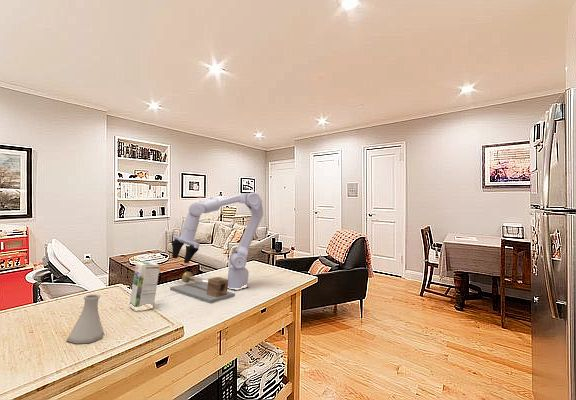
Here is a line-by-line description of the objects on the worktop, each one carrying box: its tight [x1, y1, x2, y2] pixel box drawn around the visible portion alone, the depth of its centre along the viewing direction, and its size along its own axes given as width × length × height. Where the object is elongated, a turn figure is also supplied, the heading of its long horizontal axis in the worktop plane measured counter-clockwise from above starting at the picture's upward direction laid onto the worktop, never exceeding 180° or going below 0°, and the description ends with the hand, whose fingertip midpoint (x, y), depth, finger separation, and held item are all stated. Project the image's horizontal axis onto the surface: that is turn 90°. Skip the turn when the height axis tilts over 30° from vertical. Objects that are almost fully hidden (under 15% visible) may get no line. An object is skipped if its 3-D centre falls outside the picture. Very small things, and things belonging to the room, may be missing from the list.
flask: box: [66, 293, 105, 344], centre depth 69 cm, size 7×7×10 cm
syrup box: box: [129, 260, 161, 307], centre depth 92 cm, size 6×6×14 cm
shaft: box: [181, 271, 208, 286], centre depth 117 cm, size 4×17×4 cm, turn 61°
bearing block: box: [207, 276, 229, 297], centre depth 112 cm, size 6×5×6 cm
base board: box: [169, 282, 236, 304], centre depth 116 cm, size 14×22×1 cm, turn 61°
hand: (180, 260), depth 122 cm, fingers open, 7 cm apart
